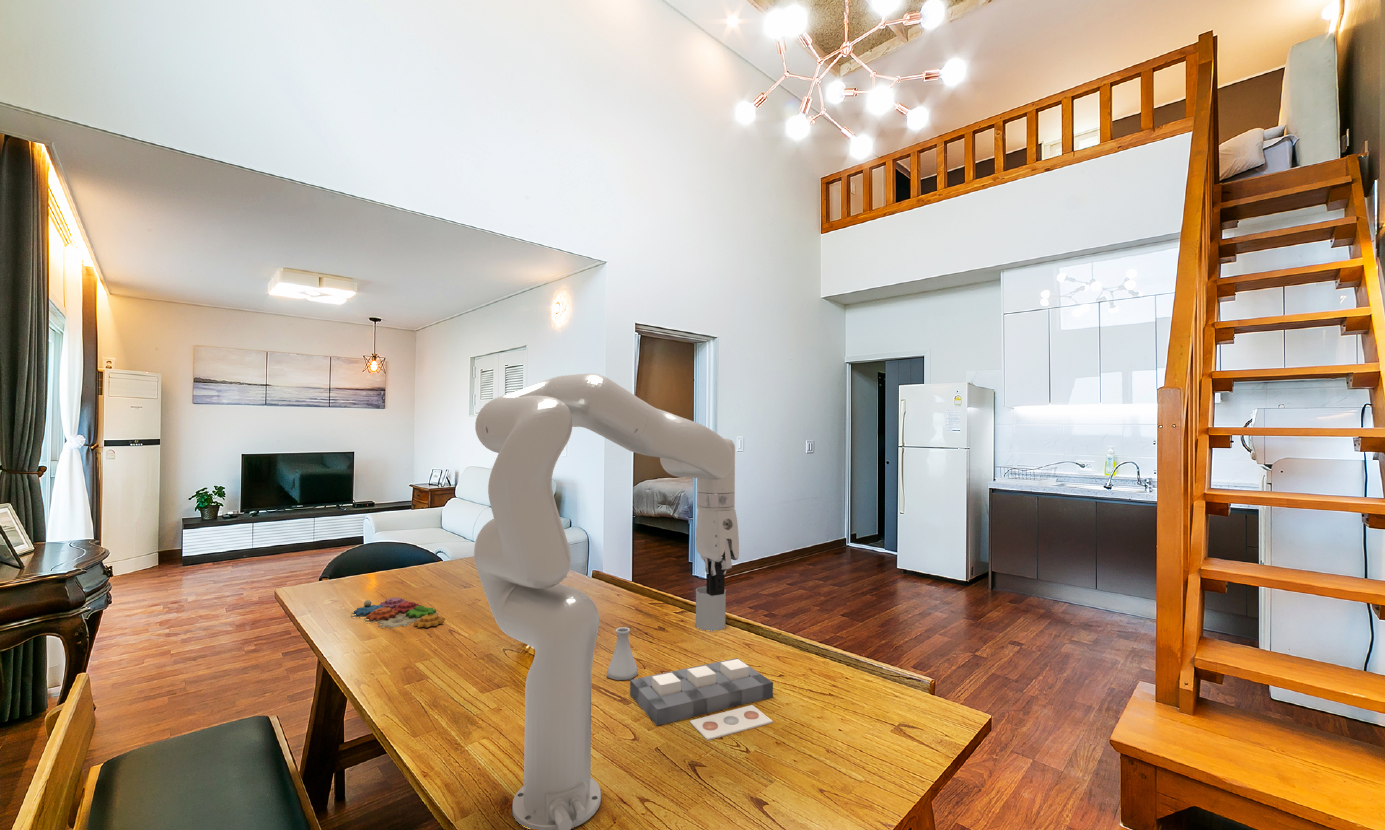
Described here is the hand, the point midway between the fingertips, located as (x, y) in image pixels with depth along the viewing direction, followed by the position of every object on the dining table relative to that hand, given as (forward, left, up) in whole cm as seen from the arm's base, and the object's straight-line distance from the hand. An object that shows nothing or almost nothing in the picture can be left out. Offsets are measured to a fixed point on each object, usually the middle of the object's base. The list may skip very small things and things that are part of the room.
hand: (715, 593), depth 113 cm
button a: (+6, -8, -21) cm, 24 cm away
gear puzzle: (+87, +54, -24) cm, 105 cm away
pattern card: (-6, 0, -23) cm, 23 cm away
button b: (+6, 0, -21) cm, 22 cm away
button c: (+6, +8, -21) cm, 23 cm away
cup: (+42, -22, -23) cm, 53 cm away
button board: (+6, 0, -23) cm, 24 cm away
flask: (+23, +11, -23) cm, 34 cm away
